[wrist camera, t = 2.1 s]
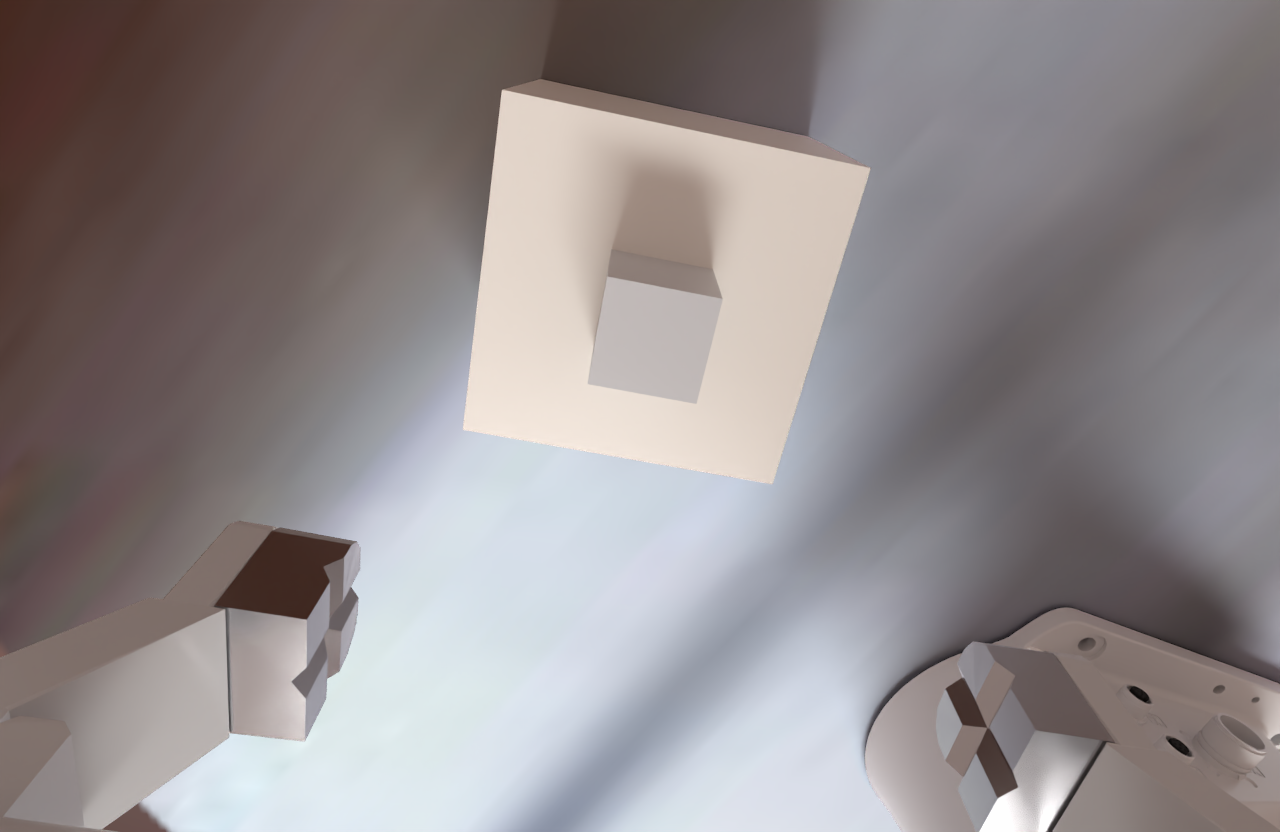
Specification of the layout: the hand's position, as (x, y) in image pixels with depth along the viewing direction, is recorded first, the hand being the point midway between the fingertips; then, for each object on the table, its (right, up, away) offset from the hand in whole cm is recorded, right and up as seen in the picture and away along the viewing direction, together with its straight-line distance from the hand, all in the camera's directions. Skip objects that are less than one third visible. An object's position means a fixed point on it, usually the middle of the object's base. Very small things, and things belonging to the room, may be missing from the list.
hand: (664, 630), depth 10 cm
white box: (0, +10, +21) cm, 23 cm away
